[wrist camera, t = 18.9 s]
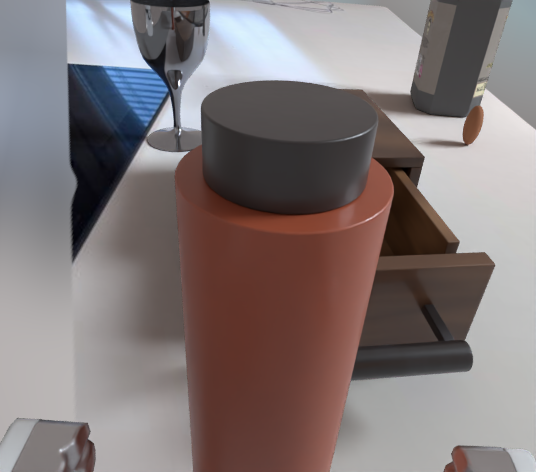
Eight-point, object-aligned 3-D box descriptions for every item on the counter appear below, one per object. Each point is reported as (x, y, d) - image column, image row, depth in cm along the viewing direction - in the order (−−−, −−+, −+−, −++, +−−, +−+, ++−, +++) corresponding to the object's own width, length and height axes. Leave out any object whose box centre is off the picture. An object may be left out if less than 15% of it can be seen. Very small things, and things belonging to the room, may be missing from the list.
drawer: (497, 410, 27) (544, 321, 23) (275, 430, 25) (285, 337, 21) (384, 224, 42) (401, 152, 38) (242, 228, 40) (244, 153, 36)
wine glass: (223, 134, 59) (223, 0, 50) (189, 158, 53) (183, 10, 44) (168, 121, 61) (159, -9, 53) (129, 143, 55) (113, 0, 47)
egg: (476, 148, 60) (489, 109, 57) (460, 146, 60) (471, 107, 57) (473, 142, 61) (486, 103, 58) (457, 140, 62) (469, 102, 59)
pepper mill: (187, 643, 18) (129, 173, 7) (186, 491, 23) (153, 64, 12) (334, 621, 19) (495, 169, 8) (305, 479, 24) (379, 68, 13)
